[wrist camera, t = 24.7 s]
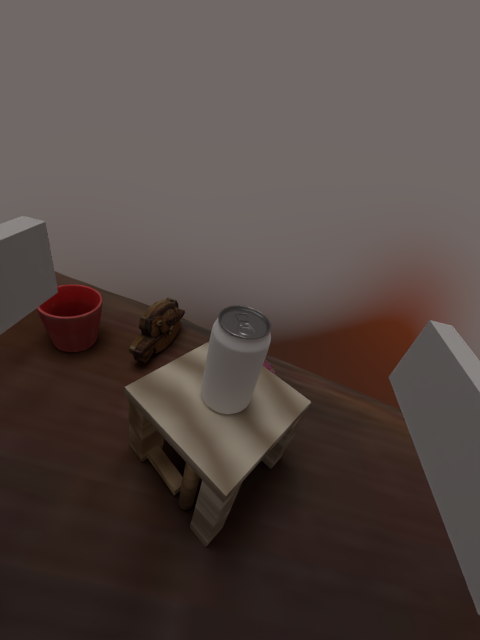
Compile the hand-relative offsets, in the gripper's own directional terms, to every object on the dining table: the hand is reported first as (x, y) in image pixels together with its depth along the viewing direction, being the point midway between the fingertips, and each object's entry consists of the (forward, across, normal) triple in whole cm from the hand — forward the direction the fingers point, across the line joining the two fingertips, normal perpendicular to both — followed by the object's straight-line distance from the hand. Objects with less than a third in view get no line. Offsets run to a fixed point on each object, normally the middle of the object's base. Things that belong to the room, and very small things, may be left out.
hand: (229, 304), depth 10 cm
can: (+16, +1, -24) cm, 29 cm away
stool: (+16, +1, -38) cm, 41 cm away
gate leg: (+12, -5, -38) cm, 40 cm away
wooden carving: (+37, -15, -38) cm, 55 cm away
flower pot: (+33, -30, -38) cm, 59 cm away
